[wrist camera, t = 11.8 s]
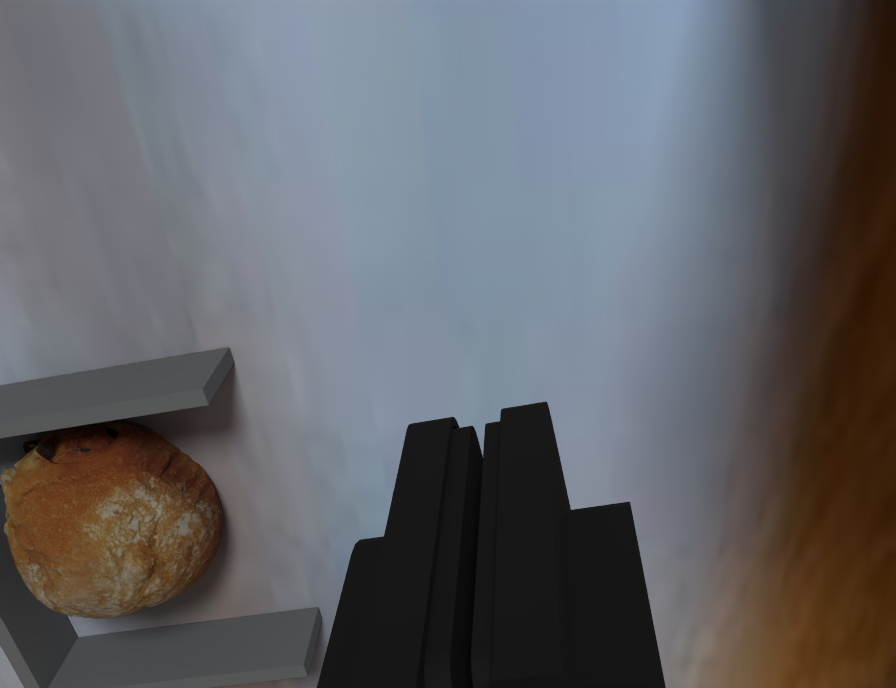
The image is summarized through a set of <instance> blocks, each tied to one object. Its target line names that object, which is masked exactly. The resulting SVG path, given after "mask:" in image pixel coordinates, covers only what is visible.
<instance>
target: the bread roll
mask: <svg viewBox="0 0 896 688" xmlns="http://www.w3.org/2000/svg"><path fill="white" fill-rule="evenodd" d="M23 448H24V451H25V453H26V454H25V456H24V457H23V458H22V459H20V460H19V461H18V462H17V463H16V464H14V466H15V468H7V469H5V470H4V472H3V474H2V475H1V477H0V478H1V482H2V489H3V493H4V495H5V498H4V500H5V503H6V513H5V516H6V519H7V522H6V523H5V525H4V532H5V534H6V535H7V537H8V542H9V547H10V550H11V553H12V556H13V559H14V562H15V564H16V567H17V569H18V571H19V573H20V575H21V577H22V579H23V581H24V583H25V584H26V586H27V587H28V589H29V590H30V591H31V592H32V594H33V595H34V596H35V597H36V599H38V600H39V601H40V602H42V603H43V604H44V605H46V606H47V607H49V608H50V609H52V610H53V611H56V612H59V613H62V614H65V615H68V616H77V617H79V616H80V617H89V618H115V617H119V616H124V615H129V614H132V613H134V612H137V611H139V610H140V609H142V608H143V607H145V606H146V607H148V608H150V607H153V606H157V605H160V604H162V603H165V602H166V601H168V600H170V599H172V598H173V597H175V596H177V595H178V594H180V593H181V592H183V591H184V590H186V589H187V588H189V587H190V586H191V585H192V584H194V583H195V582H196V581H197V580H198V579H199V578H200V577H201V576H202V575H203V573H204V572H205V571H206V570H207V568H208V567H209V565H210V564H211V562H212V560H213V559H214V557H215V555H216V552H217V549H218V546H219V543H220V539H221V535H222V509H221V505H220V501H219V498H218V495H217V492H216V490H215V487H214V484H213V483H212V481H211V479H210V478H209V476H208V475H207V473H206V471H205V470H204V469H203V468H202V467H201V466H200V465H199V464H198V463H196V462H195V461H193V460H192V459H191V458H190V457H189V456H188V455H186V454H184V453H182V452H181V451H180V450H179V449H178V448H177V447H176V446H174V445H173V444H171V443H169V442H168V441H166V440H165V439H163V438H162V437H161V436H159V435H157V434H156V433H154V432H153V431H151V430H149V429H146V428H144V427H140V426H135V425H131V424H127V423H121V422H115V421H106V422H100V423H93V424H87V425H81V426H74V427H68V428H62V429H56V430H54V431H52V432H50V433H48V434H46V435H45V436H44V437H43V438H39V439H38V440H34V441H28V442H25V443H24V444H23Z"/></svg>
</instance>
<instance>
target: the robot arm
mask: <svg viewBox="0 0 896 688" xmlns="http://www.w3.org/2000/svg"><path fill="white" fill-rule="evenodd" d="M317 688H666V687H665V682H664V677H663V672H662V666H661V661H660V656H659V651H658V646H657V640H656V635H655V630H654V625H653V619H652V614H651V609H650V604H649V599H648V593H647V588H646V583H645V578H644V573H643V567H642V562H641V557H640V552H639V546H638V541H637V536H636V531H635V526H634V520H633V515H632V510H631V505H630V502H624V503H617V504H610V505H603V506H596V507H589V508H582V509H575V510H571V508H570V504H569V499H568V494H567V490H566V485H565V480H564V476H563V471H562V466H561V462H560V457H559V452H558V448H557V443H556V438H555V434H554V429H553V424H552V420H551V415H550V411H549V407H548V404H547V402H541V403H535V404H529V405H523V406H517V407H510V408H504V409H502V410H501V418H500V421H499V422H493V423H487V424H486V425H485V437H484V453H483V456H482V453H481V449H480V445H479V441H478V437H477V434H476V431H475V429H474V427H473V426H468V427H462V428H459V425H458V423H457V421H456V419H455V418H454V417H449V418H443V419H437V420H431V421H425V422H419V423H413V424H410V425H408V428H407V432H406V436H405V441H404V446H403V450H402V455H401V460H400V464H399V469H398V474H397V478H396V483H395V488H394V492H393V497H392V502H391V507H390V511H389V516H388V521H387V525H386V530H385V535H384V537H377V538H370V539H363V540H359V541H358V542H357V543H356V544H355V546H354V549H353V551H352V554H351V558H350V562H349V566H348V570H347V573H346V577H345V581H344V585H343V589H342V593H341V597H340V601H339V604H338V608H337V612H336V616H335V620H334V624H333V628H332V631H331V635H330V639H329V643H328V647H327V651H326V655H325V659H324V662H323V666H322V670H321V674H320V678H319V682H318V686H317Z"/></svg>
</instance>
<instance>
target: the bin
mask: <svg viewBox="0 0 896 688" xmlns="http://www.w3.org/2000/svg"><path fill="white" fill-rule="evenodd" d="M233 364H234V360H233V357H232V354H231V351H230V348H229V347H228V348H222V349H216V350H210V351H204V352H198V353H192V354H186V355H180V356H174V357H168V358H162V359H156V360H150V361H144V362H139V363H133V364H127V365H121V366H115V367H109V368H103V369H97V370H91V371H85V372H79V373H73V374H67V375H61V376H55V377H49V378H43V379H37V380H31V381H25V382H19V383H13V384H7V385H1V386H0V438H5V437H12V436H18V435H24V434H30V433H37V432H43V431H49V430H56V429H62V428H68V427H74V426H81V425H87V424H93V423H100V422H106V421H112V420H118V419H125V418H131V417H137V416H144V415H150V414H156V413H162V412H169V411H175V410H181V409H188V408H194V407H200V406H206V405H209V404H210V402H211V400H212V399H213V397H214V395H215V394H216V392H217V390H218V389H219V387H220V385H221V384H222V382H223V380H224V379H225V377H226V376H227V374H228V372H229V371H230V369H231V367H232V366H233ZM4 498H5V495H4V493H3V489H2V487H1V486H0V645H1V647H2V649H3V651H4V652H5V654H6V656H7V658H8V660H9V661H10V663H11V665H12V667H13V668H14V670H15V672H16V674H17V676H18V677H19V679H20V681H21V683H22V684H23V686H24V688H213V687H222V686H230V685H239V684H248V683H256V682H265V681H274V680H282V679H291V678H300V677H308V674H309V670H310V666H311V662H312V658H313V654H314V650H315V645H316V641H317V637H318V633H319V629H320V625H321V621H322V617H321V614H320V611H319V608H310V609H302V610H294V611H286V612H278V613H270V614H262V615H254V616H246V617H238V618H230V619H222V620H214V621H207V622H199V623H191V624H183V625H175V626H167V627H159V628H151V629H143V630H135V631H127V632H119V633H111V634H103V635H95V636H87V637H79V638H78V637H77V635H76V633H75V631H74V629H73V627H72V625H71V623H70V621H69V619H68V617H67V615H65V614H62V613H59V612H56V611H53V610H52V609H50V608H49V607H47V606H46V605H44V604H43V603H42V602H40V601H39V600H38V599H36V597H35V596H34V595H33V594H32V592H31V591H30V590H29V589H28V587H27V586H26V584H25V583H24V581H23V579H22V577H21V575H20V573H19V571H18V569H17V567H16V564H15V562H14V559H13V556H12V553H11V550H10V547H9V542H8V537H7V535H6V534H5V532H4V525H5V523H6V522H7V519H6V516H5V513H6V503H5V500H4Z"/></svg>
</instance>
